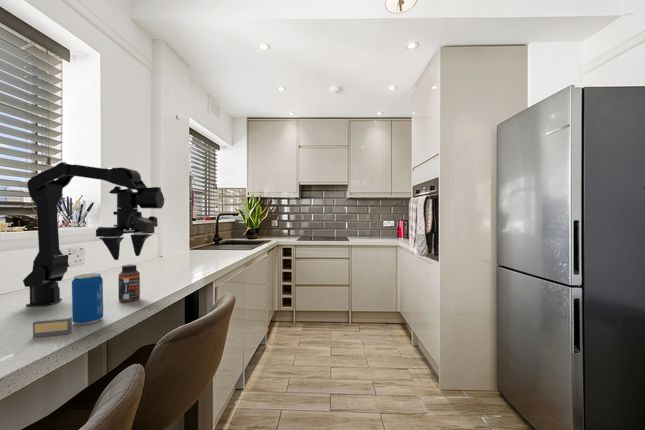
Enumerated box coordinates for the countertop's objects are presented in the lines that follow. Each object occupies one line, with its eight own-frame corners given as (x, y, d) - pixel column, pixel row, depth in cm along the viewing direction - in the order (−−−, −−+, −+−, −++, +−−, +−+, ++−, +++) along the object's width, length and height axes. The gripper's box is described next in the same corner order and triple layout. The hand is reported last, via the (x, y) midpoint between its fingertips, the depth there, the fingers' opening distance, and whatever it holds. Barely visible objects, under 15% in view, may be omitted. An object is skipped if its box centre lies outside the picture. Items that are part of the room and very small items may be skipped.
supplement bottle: (130, 303, 102) (129, 267, 102) (113, 302, 103) (113, 266, 103) (144, 298, 108) (143, 264, 107) (128, 297, 109) (128, 263, 109)
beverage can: (91, 326, 81) (90, 277, 81) (65, 326, 81) (65, 278, 81) (108, 317, 88) (108, 273, 88) (85, 317, 88) (84, 273, 88)
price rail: (32, 337, 74) (32, 322, 74) (36, 335, 75) (35, 320, 75) (69, 334, 76) (69, 319, 76) (71, 332, 77) (71, 317, 77)
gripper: (129, 208, 93) (129, 263, 93) (168, 208, 111) (168, 254, 112) (94, 208, 94) (94, 262, 95) (138, 208, 113) (138, 253, 113)
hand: (127, 257), depth 103 cm, fingers open, 9 cm apart
